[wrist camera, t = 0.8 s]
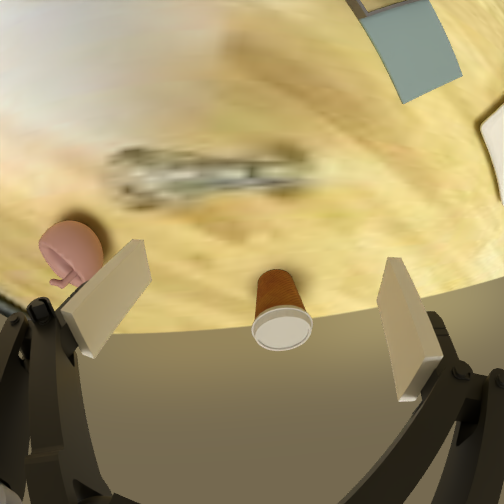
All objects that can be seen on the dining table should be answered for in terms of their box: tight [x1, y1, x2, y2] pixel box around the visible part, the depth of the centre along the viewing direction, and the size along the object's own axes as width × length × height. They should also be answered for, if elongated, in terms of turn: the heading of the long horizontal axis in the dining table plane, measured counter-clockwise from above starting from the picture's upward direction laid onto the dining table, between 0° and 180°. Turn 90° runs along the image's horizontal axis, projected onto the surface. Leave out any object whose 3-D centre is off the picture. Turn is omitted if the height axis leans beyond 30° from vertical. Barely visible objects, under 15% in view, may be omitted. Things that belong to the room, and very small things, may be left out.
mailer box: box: [345, 0, 463, 104], centre depth 23 cm, size 28×14×3 cm, turn 34°
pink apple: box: [39, 220, 103, 289], centre depth 40 cm, size 12×12×11 cm
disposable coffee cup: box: [252, 270, 313, 351], centre depth 47 cm, size 10×10×12 cm
